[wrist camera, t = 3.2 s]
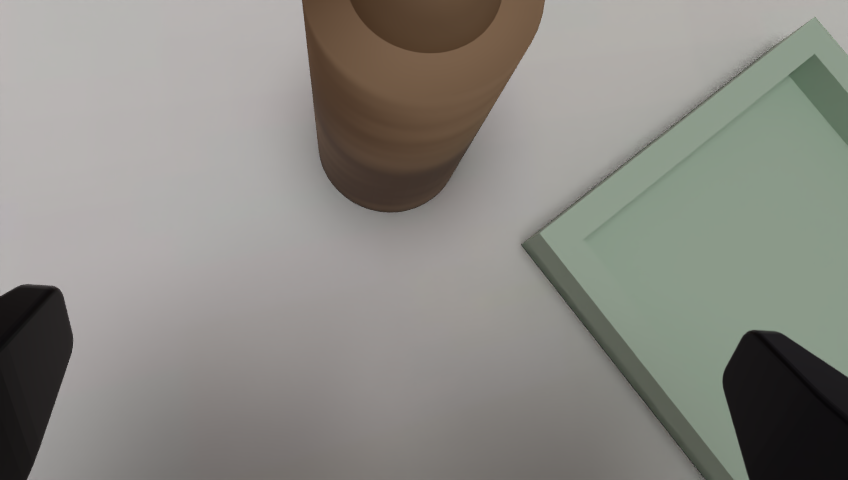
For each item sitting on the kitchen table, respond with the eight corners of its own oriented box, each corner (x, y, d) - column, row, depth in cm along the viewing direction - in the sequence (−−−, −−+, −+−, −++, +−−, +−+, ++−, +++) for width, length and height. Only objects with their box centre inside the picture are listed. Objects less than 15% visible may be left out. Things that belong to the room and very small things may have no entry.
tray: (1003, 314, 24) (1064, 311, 22) (766, 556, 22) (810, 577, 19) (776, 44, 25) (814, 16, 23) (521, 244, 22) (539, 232, 20)
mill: (485, 159, 23) (618, -25, 12) (375, 240, 22) (409, 121, 11) (401, 53, 23) (455, -222, 12) (289, 128, 22) (238, -97, 11)
